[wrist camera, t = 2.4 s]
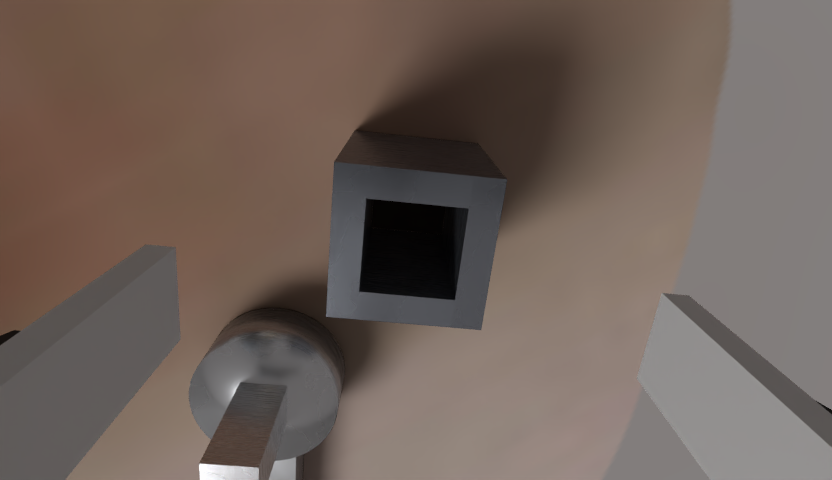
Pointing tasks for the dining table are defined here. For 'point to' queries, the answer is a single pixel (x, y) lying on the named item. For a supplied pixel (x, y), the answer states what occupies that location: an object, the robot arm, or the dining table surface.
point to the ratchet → (266, 395)
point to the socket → (409, 250)
